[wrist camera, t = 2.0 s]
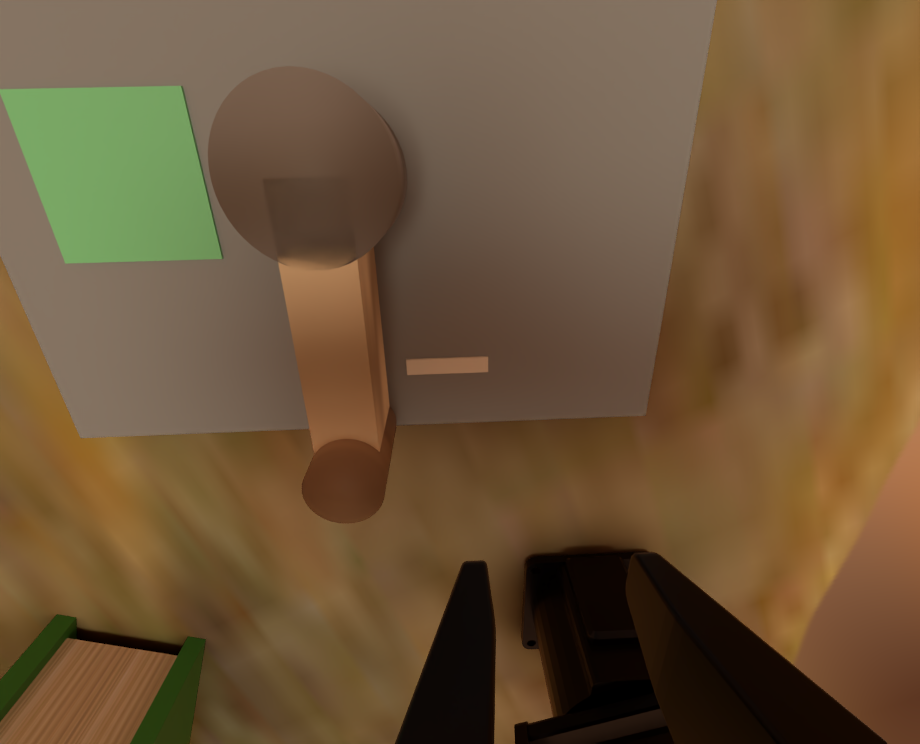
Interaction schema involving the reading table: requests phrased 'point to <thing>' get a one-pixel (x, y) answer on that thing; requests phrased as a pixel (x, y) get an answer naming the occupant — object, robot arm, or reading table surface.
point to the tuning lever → (320, 258)
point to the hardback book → (98, 692)
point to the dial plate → (402, 247)
